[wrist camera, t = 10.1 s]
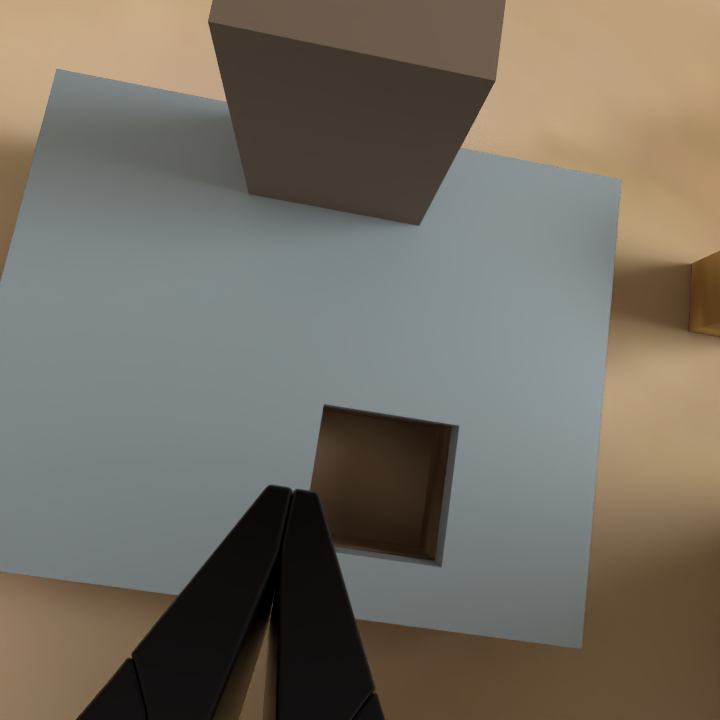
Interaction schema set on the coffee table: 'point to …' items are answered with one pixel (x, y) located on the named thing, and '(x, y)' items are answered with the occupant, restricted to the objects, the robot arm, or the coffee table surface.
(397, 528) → the brown open tray
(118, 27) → the coffee table surface
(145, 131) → the grey plate with hole
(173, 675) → the robot arm
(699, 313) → the golden wooden block
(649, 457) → the coffee table surface
